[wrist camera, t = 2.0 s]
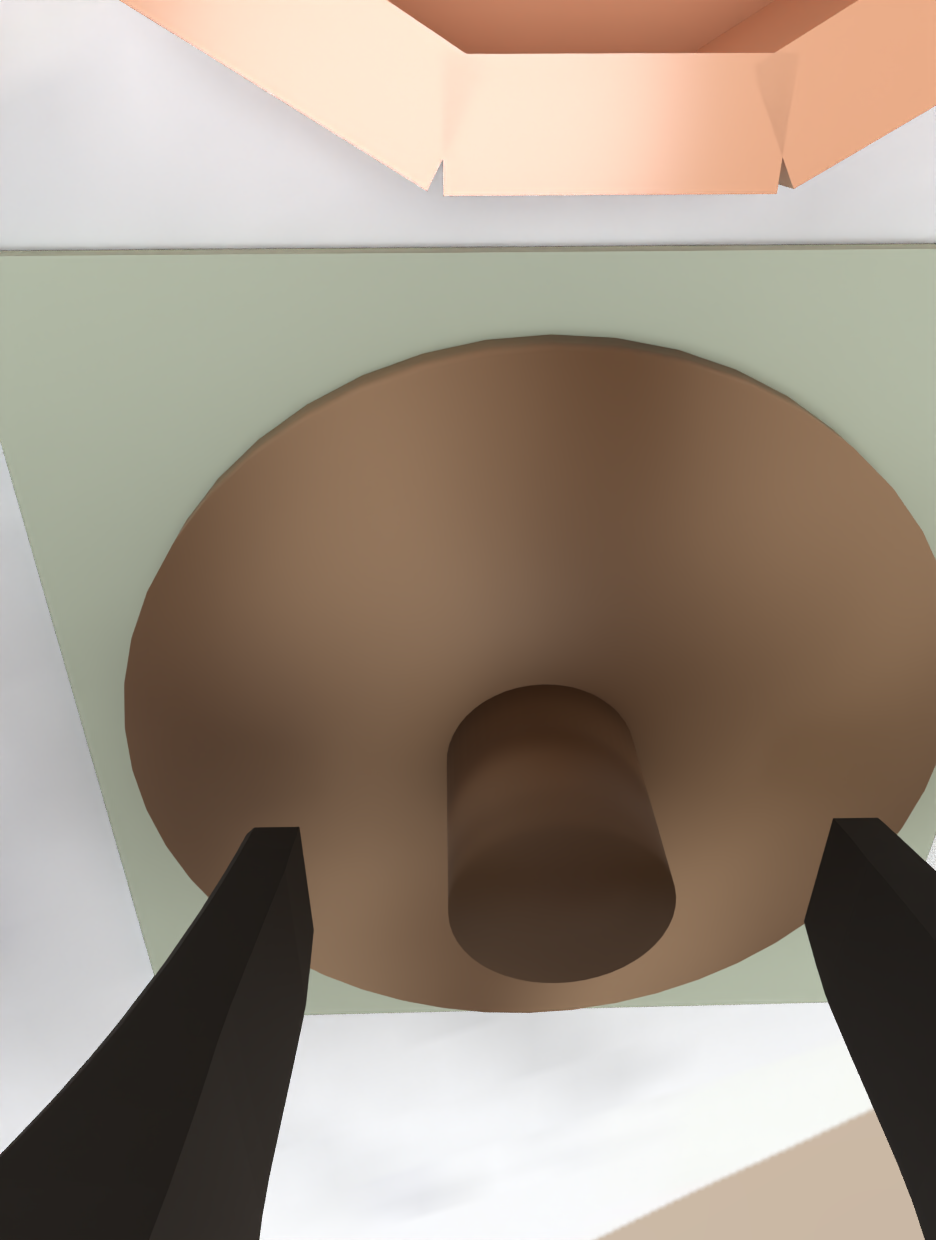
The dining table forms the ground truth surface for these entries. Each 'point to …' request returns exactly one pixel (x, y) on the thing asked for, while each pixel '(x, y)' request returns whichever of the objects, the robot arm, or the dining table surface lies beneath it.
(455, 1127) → the dining table surface
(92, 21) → the dining table surface
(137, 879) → the rubber mat
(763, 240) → the dining table surface
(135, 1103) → the robot arm
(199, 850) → the walnut lid
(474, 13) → the terracotta bowl
